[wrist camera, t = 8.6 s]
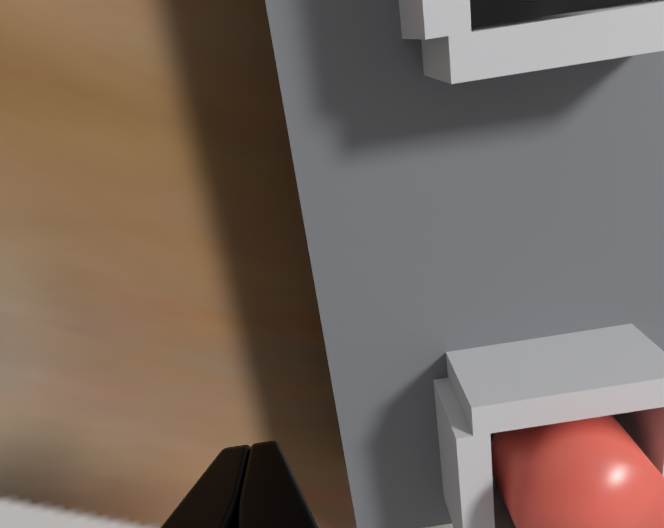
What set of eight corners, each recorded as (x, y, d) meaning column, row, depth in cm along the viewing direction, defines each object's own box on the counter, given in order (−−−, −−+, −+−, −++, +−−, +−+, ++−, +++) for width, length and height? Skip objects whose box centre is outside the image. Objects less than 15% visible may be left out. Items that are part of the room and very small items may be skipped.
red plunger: (491, 509, 20) (525, 593, 17) (486, 406, 18) (523, 479, 15) (616, 489, 20) (672, 570, 17) (622, 385, 18) (686, 454, 15)
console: (350, 463, 25) (367, 611, 19) (238, -189, 16) (196, -341, 10) (659, 416, 25) (784, 548, 19) (724, -268, 16) (1013, -474, 10)
